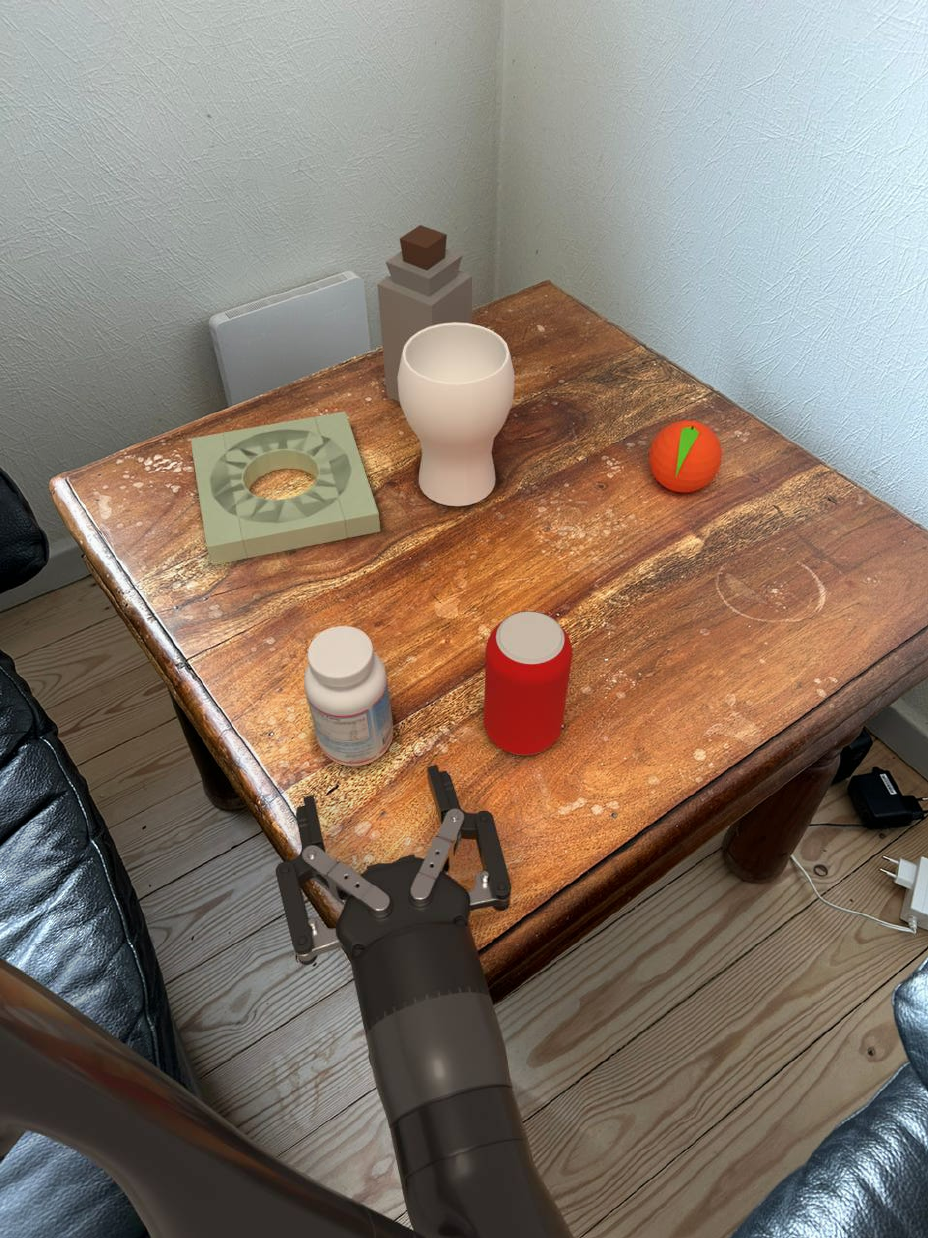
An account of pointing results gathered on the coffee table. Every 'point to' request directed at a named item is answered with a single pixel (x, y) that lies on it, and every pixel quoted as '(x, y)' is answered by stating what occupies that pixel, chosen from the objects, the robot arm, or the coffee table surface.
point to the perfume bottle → (420, 295)
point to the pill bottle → (348, 696)
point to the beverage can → (526, 682)
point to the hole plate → (281, 525)
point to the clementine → (685, 456)
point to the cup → (456, 407)
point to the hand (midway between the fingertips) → (371, 786)
